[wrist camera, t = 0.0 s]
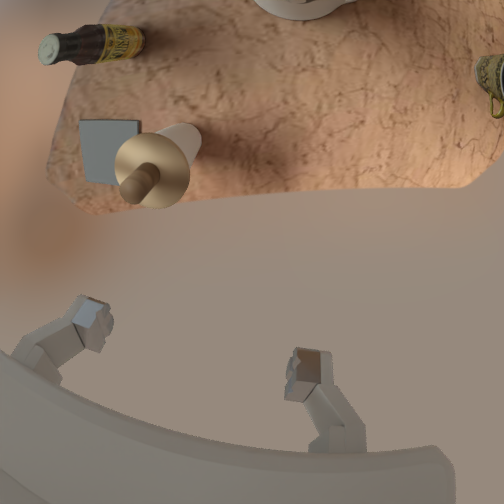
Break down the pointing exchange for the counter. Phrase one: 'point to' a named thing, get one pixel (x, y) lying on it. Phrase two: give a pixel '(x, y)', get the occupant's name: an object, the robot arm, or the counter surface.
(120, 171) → the lid
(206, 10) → the counter surface
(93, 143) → the mat
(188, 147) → the foam cup
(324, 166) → the counter surface
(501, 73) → the ceramic cup
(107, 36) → the sauce bottle
